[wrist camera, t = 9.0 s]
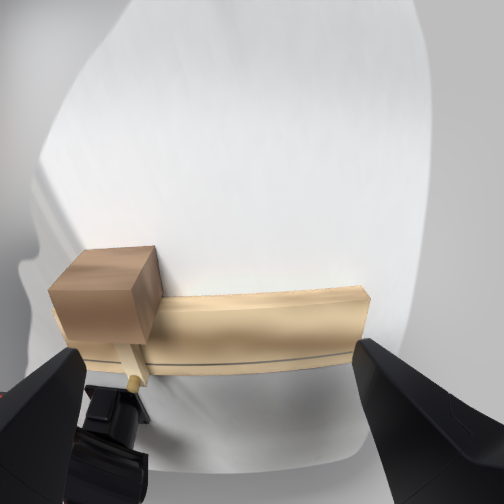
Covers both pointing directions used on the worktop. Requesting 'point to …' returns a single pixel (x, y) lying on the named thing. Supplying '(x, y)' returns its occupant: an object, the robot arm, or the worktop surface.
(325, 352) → the board
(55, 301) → the brown block with rod
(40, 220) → the worktop surface
